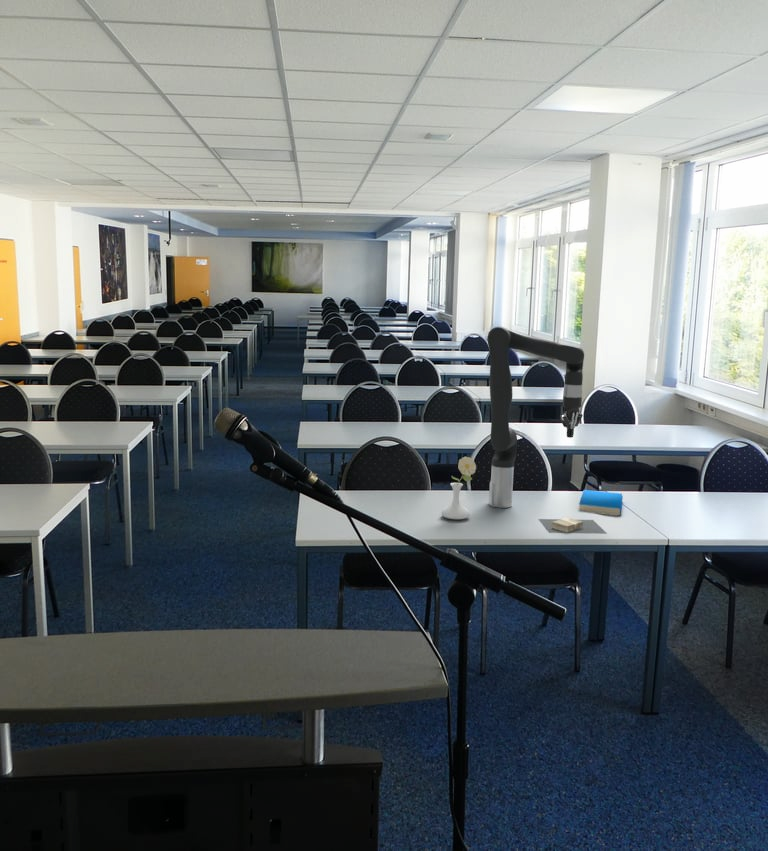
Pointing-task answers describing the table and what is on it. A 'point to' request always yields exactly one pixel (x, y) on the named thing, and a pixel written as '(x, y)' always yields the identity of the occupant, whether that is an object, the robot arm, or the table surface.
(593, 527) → the mat
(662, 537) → the table surface
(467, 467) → the flower in vase
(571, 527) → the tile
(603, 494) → the book
